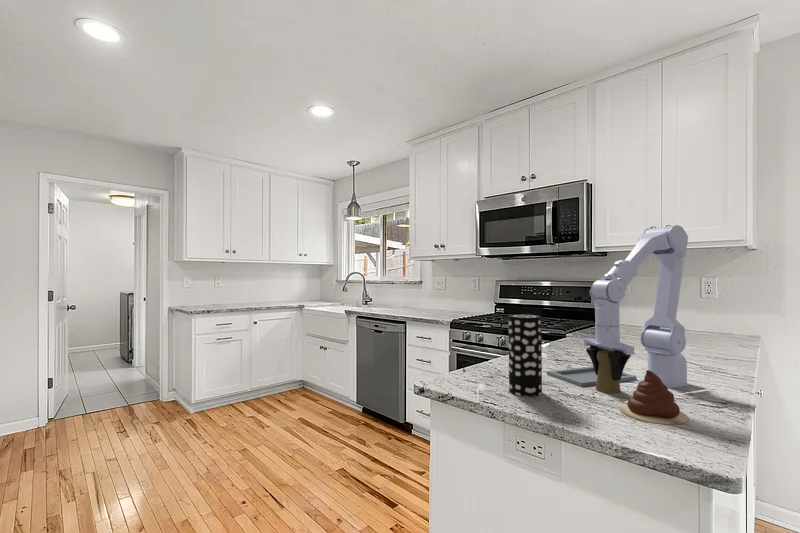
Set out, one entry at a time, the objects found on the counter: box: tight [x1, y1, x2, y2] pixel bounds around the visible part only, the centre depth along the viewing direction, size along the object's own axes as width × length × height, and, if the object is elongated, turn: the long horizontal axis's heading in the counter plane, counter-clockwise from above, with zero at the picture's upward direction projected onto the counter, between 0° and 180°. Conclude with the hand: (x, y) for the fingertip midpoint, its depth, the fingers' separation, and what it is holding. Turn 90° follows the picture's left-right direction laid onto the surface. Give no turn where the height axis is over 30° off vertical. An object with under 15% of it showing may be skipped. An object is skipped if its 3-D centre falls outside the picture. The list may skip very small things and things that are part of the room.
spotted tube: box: [508, 314, 543, 397], centre depth 109 cm, size 8×8×20 cm
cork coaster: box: [619, 403, 689, 426], centre depth 92 cm, size 13×13×1 cm
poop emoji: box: [626, 369, 681, 418], centre depth 92 cm, size 10×8×9 cm
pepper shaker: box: [595, 350, 621, 395], centre depth 108 cm, size 6×6×11 cm
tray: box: [546, 366, 638, 388], centre depth 122 cm, size 20×14×2 cm
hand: (607, 377), depth 108 cm, fingers closed on pepper shaker, 5 cm apart
